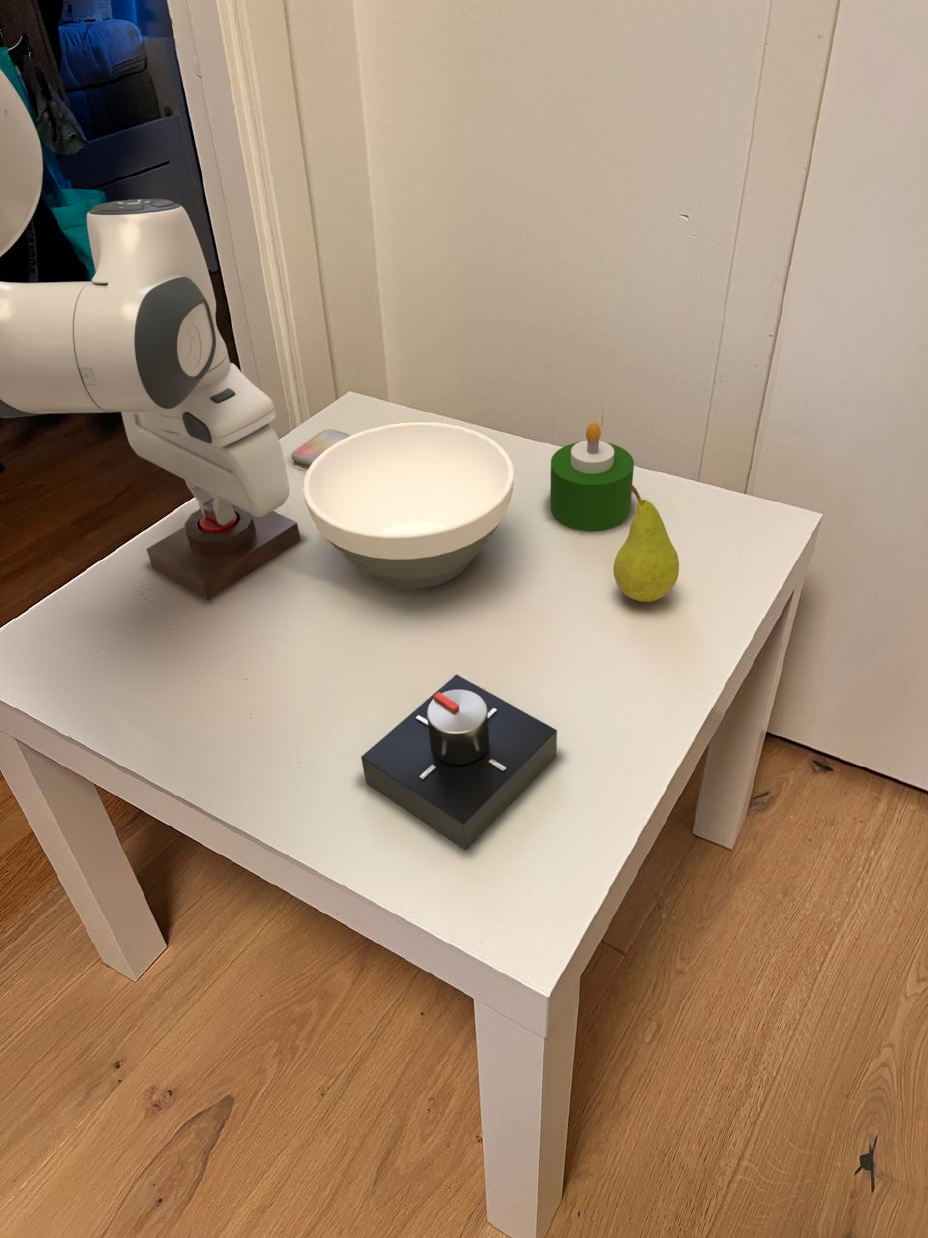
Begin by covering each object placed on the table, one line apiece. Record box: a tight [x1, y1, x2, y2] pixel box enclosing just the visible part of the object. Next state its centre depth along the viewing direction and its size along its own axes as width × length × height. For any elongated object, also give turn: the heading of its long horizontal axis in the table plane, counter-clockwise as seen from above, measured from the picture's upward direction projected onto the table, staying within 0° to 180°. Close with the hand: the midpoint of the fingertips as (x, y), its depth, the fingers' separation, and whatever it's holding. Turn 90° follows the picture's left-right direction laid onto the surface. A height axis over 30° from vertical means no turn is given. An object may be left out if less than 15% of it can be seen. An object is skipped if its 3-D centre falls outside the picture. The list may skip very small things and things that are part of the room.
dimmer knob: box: [427, 689, 489, 765], centre depth 69 cm, size 4×4×4 cm
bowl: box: [302, 421, 515, 590], centre depth 90 cm, size 20×20×10 cm
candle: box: [549, 421, 635, 532], centre depth 95 cm, size 8×8×10 cm
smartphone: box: [291, 429, 353, 467], centre depth 106 cm, size 7×1×15 cm
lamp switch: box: [145, 504, 302, 601], centre depth 94 cm, size 12×9×4 cm
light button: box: [200, 512, 238, 534], centre depth 93 cm, size 4×4×2 cm
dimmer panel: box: [360, 674, 558, 851], centre depth 71 cm, size 11×10×3 cm
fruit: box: [613, 483, 680, 603], centre depth 83 cm, size 6×6×12 cm
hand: (219, 518), depth 92 cm, fingers closed, pressing on light button
